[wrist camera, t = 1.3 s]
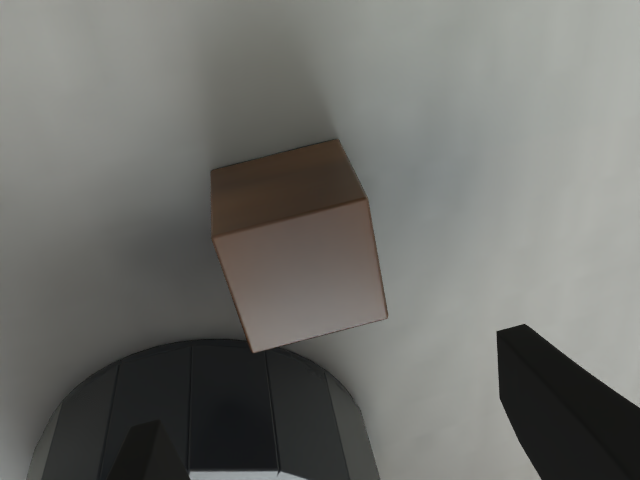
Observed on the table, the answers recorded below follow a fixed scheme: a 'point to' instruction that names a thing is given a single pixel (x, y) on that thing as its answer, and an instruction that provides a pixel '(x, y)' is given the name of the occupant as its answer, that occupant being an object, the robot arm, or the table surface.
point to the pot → (212, 416)
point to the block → (296, 245)
